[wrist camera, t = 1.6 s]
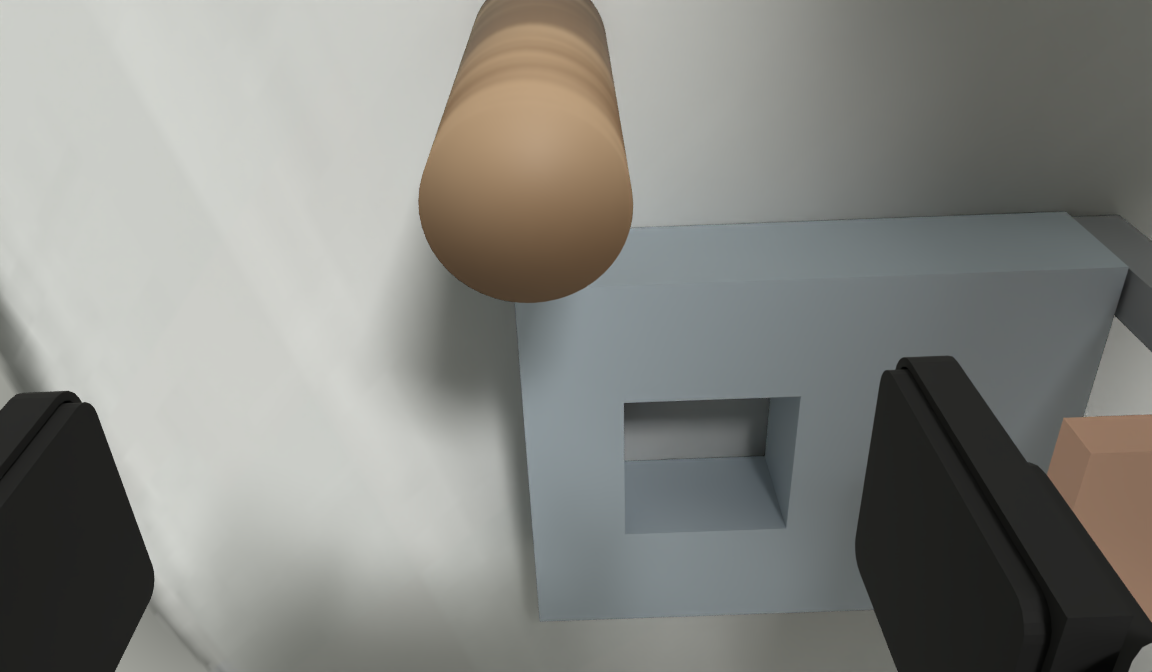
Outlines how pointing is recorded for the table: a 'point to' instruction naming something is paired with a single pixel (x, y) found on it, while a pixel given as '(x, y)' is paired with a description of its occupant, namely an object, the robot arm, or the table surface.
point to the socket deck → (815, 398)
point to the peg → (529, 156)
